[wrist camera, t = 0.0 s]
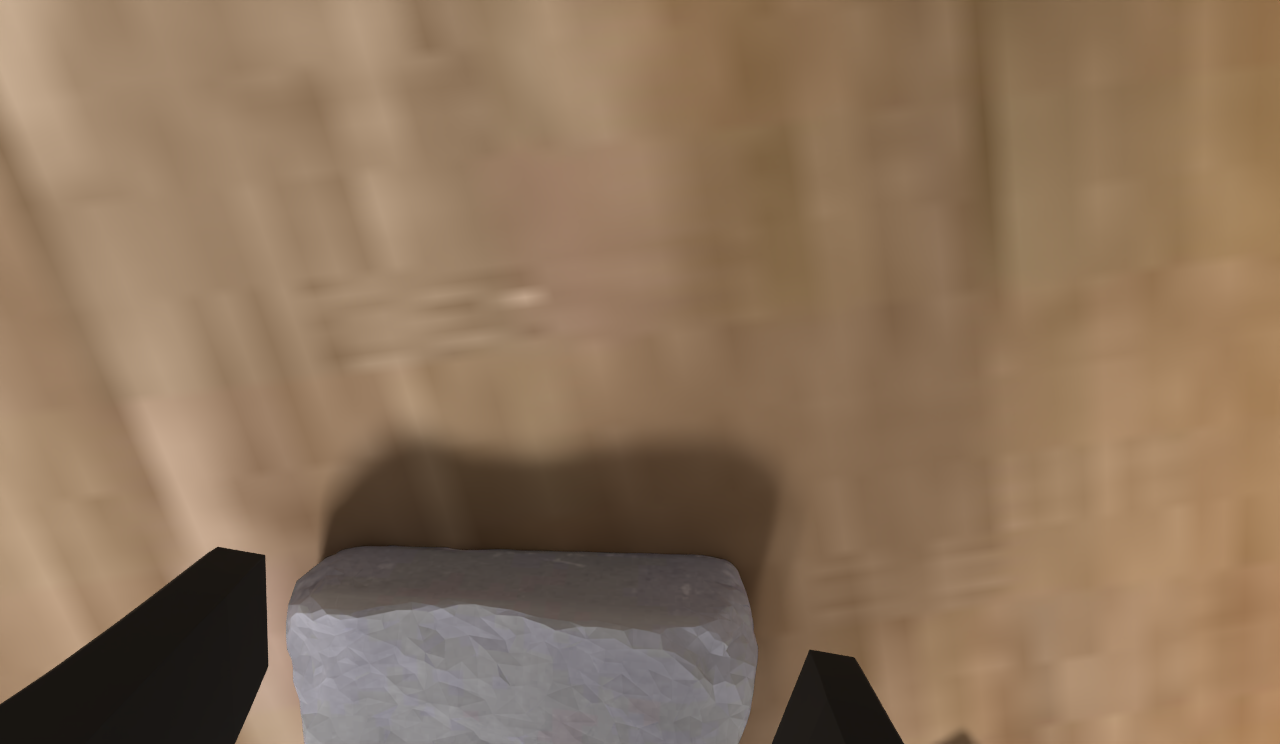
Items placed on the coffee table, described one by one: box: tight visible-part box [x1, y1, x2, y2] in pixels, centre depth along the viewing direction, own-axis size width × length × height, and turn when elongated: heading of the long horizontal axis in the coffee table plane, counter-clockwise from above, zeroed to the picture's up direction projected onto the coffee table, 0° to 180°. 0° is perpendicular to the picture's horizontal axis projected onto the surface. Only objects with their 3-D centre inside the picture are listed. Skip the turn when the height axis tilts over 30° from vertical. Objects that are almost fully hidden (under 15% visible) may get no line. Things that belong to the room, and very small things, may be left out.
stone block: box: [286, 545, 758, 744], centre depth 23 cm, size 12×5×10 cm
